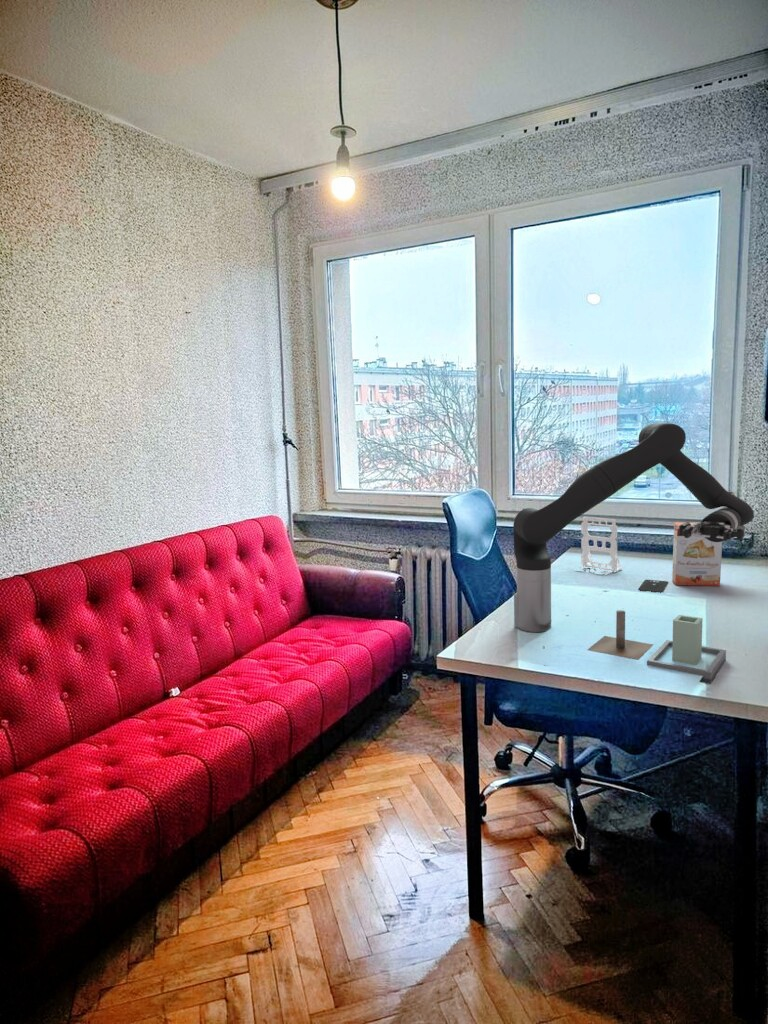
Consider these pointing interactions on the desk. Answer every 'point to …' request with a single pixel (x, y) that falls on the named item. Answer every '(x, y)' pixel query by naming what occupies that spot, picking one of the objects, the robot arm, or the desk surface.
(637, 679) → the desk surface
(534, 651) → the desk surface
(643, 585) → the smartphone
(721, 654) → the grey tray
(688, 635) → the sleeve
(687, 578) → the cracker box
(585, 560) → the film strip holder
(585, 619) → the desk surface
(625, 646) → the board
